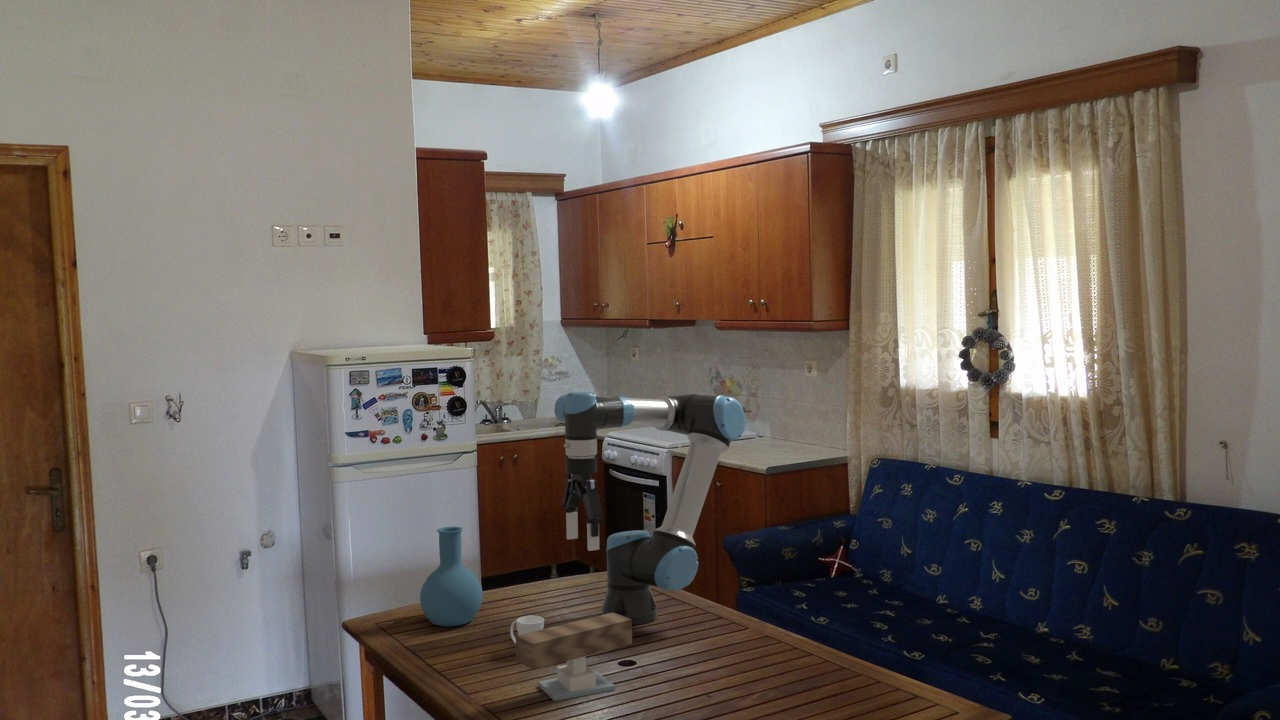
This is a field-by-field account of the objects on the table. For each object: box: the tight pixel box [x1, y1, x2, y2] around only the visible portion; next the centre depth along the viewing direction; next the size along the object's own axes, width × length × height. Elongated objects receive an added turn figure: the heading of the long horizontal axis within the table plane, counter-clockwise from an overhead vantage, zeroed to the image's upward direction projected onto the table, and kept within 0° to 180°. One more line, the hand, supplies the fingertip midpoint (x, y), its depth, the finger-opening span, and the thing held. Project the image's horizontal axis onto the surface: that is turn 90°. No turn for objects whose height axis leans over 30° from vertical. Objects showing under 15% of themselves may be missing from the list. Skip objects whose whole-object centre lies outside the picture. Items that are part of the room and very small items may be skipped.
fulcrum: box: [538, 656, 616, 702], centre depth 222 cm, size 14×10×8 cm
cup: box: [509, 614, 545, 645], centre depth 247 cm, size 7×10×8 cm
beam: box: [515, 613, 633, 671], centre depth 222 cm, size 26×7×6 cm, turn 128°
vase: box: [419, 526, 483, 628], centre depth 272 cm, size 16×16×25 cm
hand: (582, 544), depth 244 cm, fingers open, 13 cm apart
